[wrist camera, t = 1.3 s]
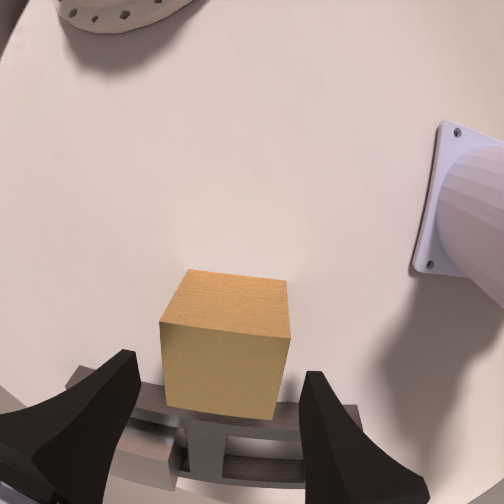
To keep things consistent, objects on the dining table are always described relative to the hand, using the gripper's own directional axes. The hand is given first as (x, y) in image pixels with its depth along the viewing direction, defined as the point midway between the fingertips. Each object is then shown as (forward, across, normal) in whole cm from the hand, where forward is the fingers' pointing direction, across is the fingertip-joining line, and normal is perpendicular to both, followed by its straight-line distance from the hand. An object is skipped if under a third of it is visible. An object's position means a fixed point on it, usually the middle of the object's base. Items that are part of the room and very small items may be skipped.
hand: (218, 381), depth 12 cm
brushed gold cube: (+5, 0, 0) cm, 5 cm away
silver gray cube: (+5, +6, +11) cm, 13 cm away
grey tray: (+5, +1, +11) cm, 12 cm away
